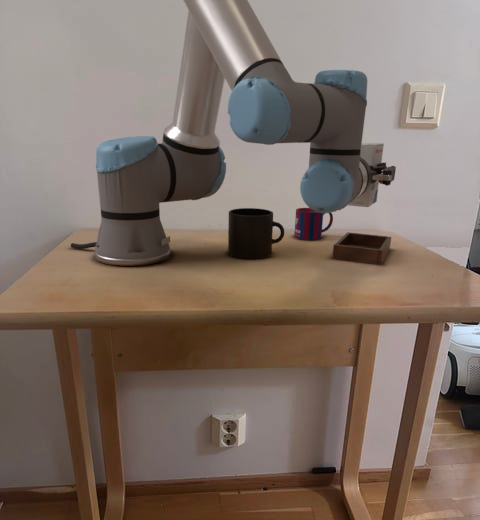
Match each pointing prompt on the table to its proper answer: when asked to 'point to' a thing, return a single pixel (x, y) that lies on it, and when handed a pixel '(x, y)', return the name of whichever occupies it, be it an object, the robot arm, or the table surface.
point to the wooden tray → (362, 248)
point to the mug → (251, 233)
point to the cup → (310, 224)
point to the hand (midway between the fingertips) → (369, 168)
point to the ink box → (373, 158)
